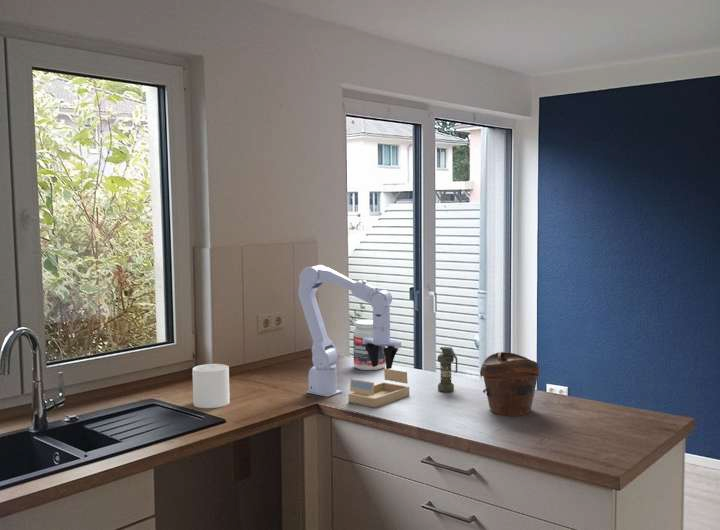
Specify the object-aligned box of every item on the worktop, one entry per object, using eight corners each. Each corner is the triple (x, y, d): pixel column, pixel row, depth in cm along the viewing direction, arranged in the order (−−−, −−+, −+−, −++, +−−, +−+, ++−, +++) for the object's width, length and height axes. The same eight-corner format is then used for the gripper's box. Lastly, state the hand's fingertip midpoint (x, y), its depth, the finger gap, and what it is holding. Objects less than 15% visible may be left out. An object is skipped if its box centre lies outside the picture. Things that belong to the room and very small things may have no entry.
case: (499, 398, 239) (499, 344, 237) (553, 410, 225) (553, 353, 223) (466, 410, 227) (465, 353, 225) (521, 423, 212) (521, 363, 211)
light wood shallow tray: (348, 402, 236) (348, 393, 236) (383, 390, 251) (383, 382, 251) (375, 408, 229) (375, 398, 229) (409, 395, 244) (409, 386, 244)
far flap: (384, 368, 250) (384, 368, 250) (384, 379, 250) (385, 379, 250) (406, 372, 244) (407, 371, 244) (407, 383, 244) (407, 383, 245)
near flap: (350, 390, 236) (349, 391, 235) (351, 378, 235) (350, 378, 235) (373, 395, 230) (372, 395, 229) (374, 382, 230) (373, 382, 229)
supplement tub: (351, 370, 282) (350, 324, 281) (356, 363, 295) (356, 319, 293) (383, 371, 280) (383, 324, 279) (387, 364, 293) (387, 319, 291)
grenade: (436, 392, 248) (435, 348, 247) (441, 387, 254) (440, 345, 253) (454, 393, 246) (454, 350, 245) (458, 389, 252) (458, 346, 250)
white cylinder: (237, 403, 238) (236, 367, 237) (207, 410, 229) (206, 373, 228) (215, 396, 246) (214, 362, 245) (186, 404, 237) (185, 368, 236)
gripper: (356, 326, 241) (357, 366, 242) (392, 330, 232) (392, 372, 233) (369, 323, 246) (370, 363, 247) (404, 327, 237) (405, 368, 238)
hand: (381, 367), depth 241 cm, fingers open, 5 cm apart
